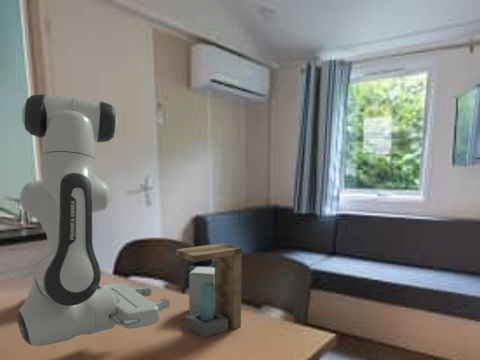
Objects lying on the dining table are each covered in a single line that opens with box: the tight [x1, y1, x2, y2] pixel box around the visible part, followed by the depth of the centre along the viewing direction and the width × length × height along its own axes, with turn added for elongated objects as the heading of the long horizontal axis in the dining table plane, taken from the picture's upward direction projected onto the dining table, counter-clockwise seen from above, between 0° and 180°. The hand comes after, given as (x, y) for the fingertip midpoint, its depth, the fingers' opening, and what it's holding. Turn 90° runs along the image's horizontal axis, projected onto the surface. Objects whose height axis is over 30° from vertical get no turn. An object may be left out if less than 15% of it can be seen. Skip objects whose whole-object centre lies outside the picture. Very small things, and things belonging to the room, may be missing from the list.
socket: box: [186, 311, 229, 339], centre depth 103 cm, size 8×8×3 cm
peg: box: [201, 282, 214, 323], centre depth 103 cm, size 4×4×12 cm
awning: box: [175, 242, 243, 330], centre depth 103 cm, size 9×15×22 cm, turn 129°
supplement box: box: [188, 266, 215, 316], centre depth 115 cm, size 7×7×13 cm
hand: (158, 296), depth 94 cm, fingers open, 8 cm apart
